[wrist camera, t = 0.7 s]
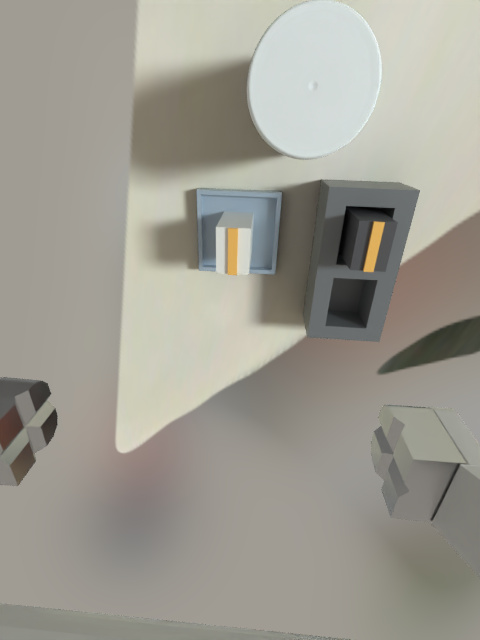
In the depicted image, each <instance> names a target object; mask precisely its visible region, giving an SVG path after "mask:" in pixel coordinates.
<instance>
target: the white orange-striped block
mask: <svg viewBox="0 0 480 640" xmlns="http://www.w3.org/2000/svg"><path fill="white" fill-rule="evenodd" d="M253 217H254V213H252V212H229V211H224V213H223V215H222V217H221V219H220V220H219V222H218V224H217V226H216V273H226V274H228V275H237V274H244V275H249V270H250V262H251V255H252V238H253Z"/></svg>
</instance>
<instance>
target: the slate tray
mask: <svg viewBox="0 0 480 640" xmlns="http://www.w3.org/2000/svg"><path fill="white" fill-rule="evenodd" d="M281 200H282V191H258V190H234V189H210V188H198V189H197V222H198V255H199V270H200V271H216V226H217V224H218V222H219V220H220V219H221V217H222V215H223V213H224V211H229V212H252V213H254V217H253V238H252V255H251V262H250V270H249V273H256V274H275V271H276V259H277V247H278V235H279V224H280V212H281Z"/></svg>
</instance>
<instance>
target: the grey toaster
mask: <svg viewBox="0 0 480 640" xmlns="http://www.w3.org/2000/svg"><path fill="white" fill-rule="evenodd" d="M419 192H420V190H418V189H415V188H412V187H410V186H407V185H404V184H402V183H395V182H370V181H345V180H321V185H320V193H319V200H318V208H317V215H316V222H315V230H314V237H313V245H312V252H311V260H310V267H309V274H308V282H307V289H306V297H305V304H304V311H303V318H304V323H305V328H306V333H307V337H310V338H326V339H328V338H329V339H345V340H360V341H375V342H379V341H380V337H381V333H382V329H383V326H384V322H385V319H386V315H387V311H388V307H389V304H390V300H391V296H392V293H393V288H394V285H395V281H396V278H397V274H398V270H399V266H400V263H401V259H402V255H403V252H404V248H405V244H406V240H407V237H408V233H409V229H410V226H411V222H412V218H413V214H414V211H415V207H416V203H417V199H418V196H419Z"/></svg>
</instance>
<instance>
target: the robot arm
mask: <svg viewBox="0 0 480 640" xmlns="http://www.w3.org/2000/svg"><path fill="white" fill-rule="evenodd" d="M50 395H51V392H50V389H49V386H48V383H46V382H43V381H39V380H29V379H18V378H7V377H3V378H2V377H0V485H12V486H18V485H19V484H20V483H21V481H22V480H23V478H24V477H25V476H26V474H27V473H28V471H29V470H30V469H31V467H32V466H33V464H34V463H35V462H36V457H35V453H36V452H37V451H39V450H41V449H43V448H44V447H46V446H47V445H48V444H49V442H50V441H51V439H52V437H53V436H54V433H55V430H56V427H57V412H56V408H55V407H54V406H53V405H52V404H51V403H50V402H48V401H47V400H48V398H49V397H50ZM378 418H379V421H380V424H381V426H380V427H379V428H378V429H376V430H375V431H374V433H373V437H372V441H371V455H372V461H373V465H374V468H375V472H376V473H377V474H378V475H379V476H380V477H381V478H383V479H384V483H383V486H382V493H383V496H384V499H385V502H386V505H387V508H388V511H389V514H390V516H391V518H397V519H406V520H415V521H424V522H432V526H433V527H434V528H435V529H436V530H437V531H438V532H439V534H440V535H441V536H442V537H443V538H444V539H445V540H446V541H447V542H448V544H449V545H451V547H452V548H453V549H454V550H455V551H456V552H457V553H458V555H459V556H460V557H461V558H462V559H463V560H464V561H465V562H466V564H468V566H469V567H470V568H471V569H472V570H473V571H474V572H475V573H476V575H477V576H478V577H479V578H480V445H479V443H478V442H477V440H476V439H475V437H474V436H473V434H472V433H471V432H470V430H469V429H468V427H467V426H466V425H465V423H464V422H463V420H462V419H461V417H460V416H459V415H458V413H457V412H456V411H454V410H453V409H451V408H437V407H428V408H426V407H412V406H397V405H383V407H382V408H381V410H380V413H379V416H378ZM0 640H351V639H341V638H332V637H322V636H312V635H302V634H293V633H283V632H274V631H264V630H254V629H245V628H234V627H225V626H216V625H206V624H196V623H187V622H177V621H167V620H158V619H147V618H138V617H128V616H119V615H108V614H99V613H89V612H80V611H70V610H61V609H51V608H41V607H32V606H22V605H12V604H1V603H0Z"/></svg>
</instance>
